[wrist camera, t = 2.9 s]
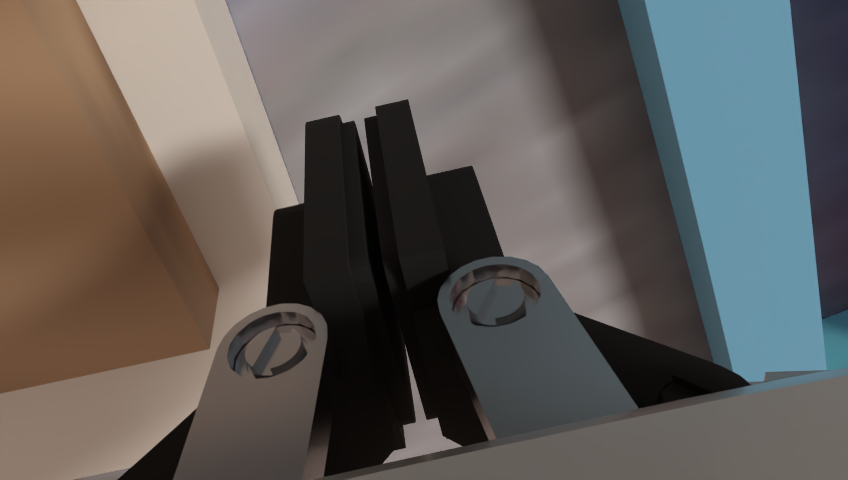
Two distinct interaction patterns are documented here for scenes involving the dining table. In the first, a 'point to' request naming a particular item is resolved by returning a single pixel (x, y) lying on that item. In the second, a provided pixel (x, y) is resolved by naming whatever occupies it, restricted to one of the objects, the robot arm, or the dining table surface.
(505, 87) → the dining table surface
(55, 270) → the tile
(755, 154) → the tetris game
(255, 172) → the board
